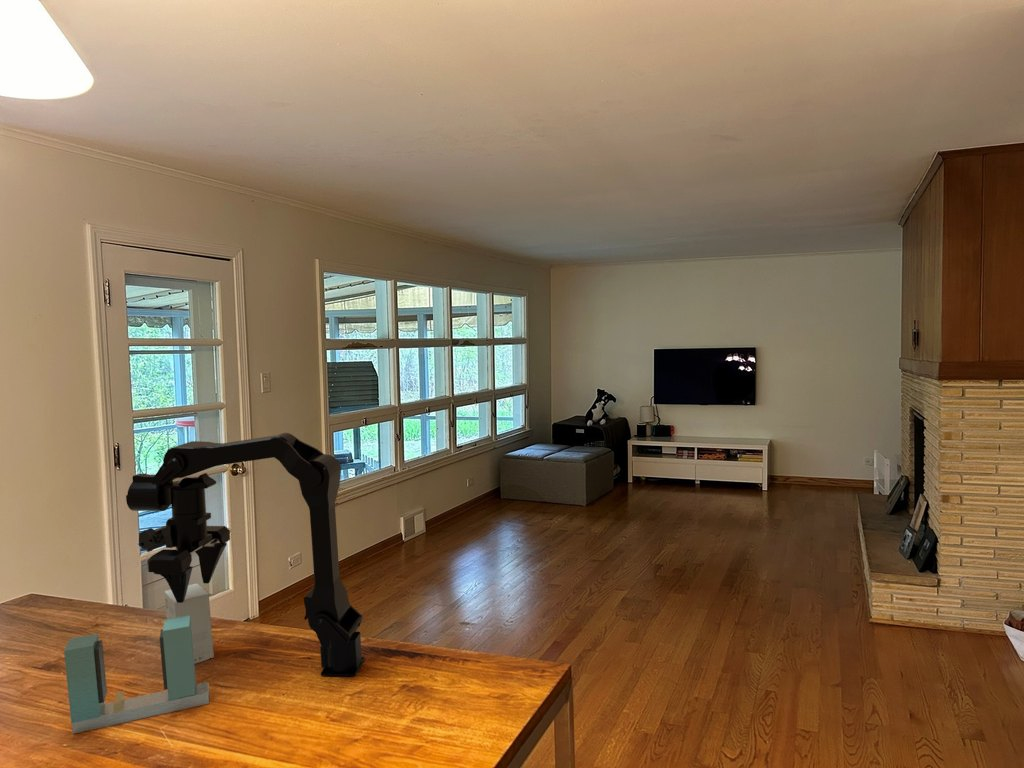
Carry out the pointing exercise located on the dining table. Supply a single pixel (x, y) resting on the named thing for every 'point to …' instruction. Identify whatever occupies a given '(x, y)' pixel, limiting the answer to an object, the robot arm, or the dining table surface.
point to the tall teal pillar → (178, 657)
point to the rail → (91, 691)
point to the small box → (194, 619)
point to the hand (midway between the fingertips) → (193, 592)
